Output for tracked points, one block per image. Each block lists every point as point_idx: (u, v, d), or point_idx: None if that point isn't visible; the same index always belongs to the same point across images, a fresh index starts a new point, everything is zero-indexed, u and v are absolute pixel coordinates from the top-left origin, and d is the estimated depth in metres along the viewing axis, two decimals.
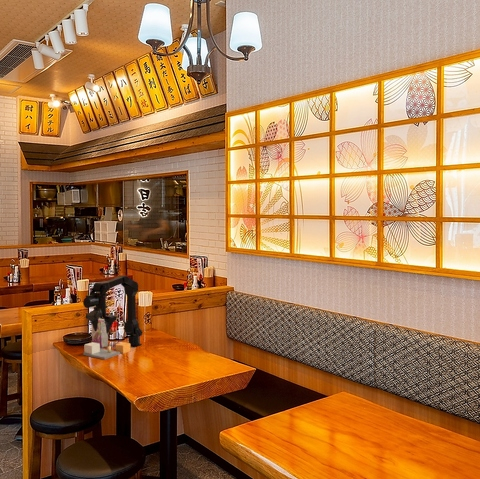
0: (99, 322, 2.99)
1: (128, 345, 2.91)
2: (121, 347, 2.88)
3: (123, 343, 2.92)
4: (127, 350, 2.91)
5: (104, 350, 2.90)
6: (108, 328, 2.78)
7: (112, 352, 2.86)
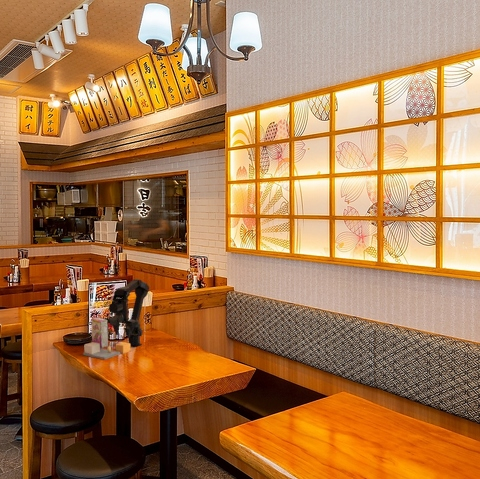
0: (99, 322, 2.99)
1: (128, 345, 2.91)
2: (121, 347, 2.88)
3: (123, 343, 2.92)
4: (127, 350, 2.91)
5: (104, 350, 2.90)
6: (129, 332, 2.88)
7: (112, 352, 2.86)
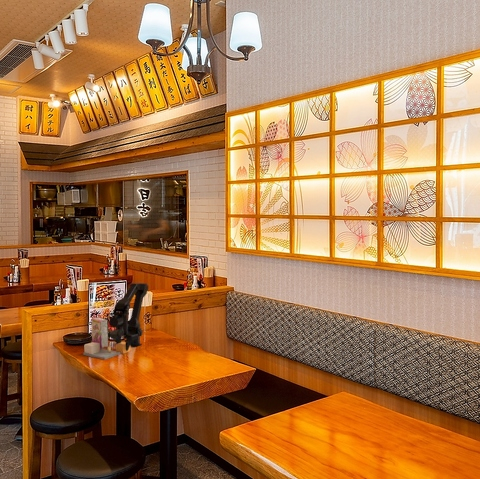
0: (99, 322, 2.99)
1: None
2: (121, 347, 2.88)
3: (123, 343, 2.92)
4: None
5: (104, 350, 2.90)
6: (128, 346, 2.89)
7: (112, 352, 2.86)
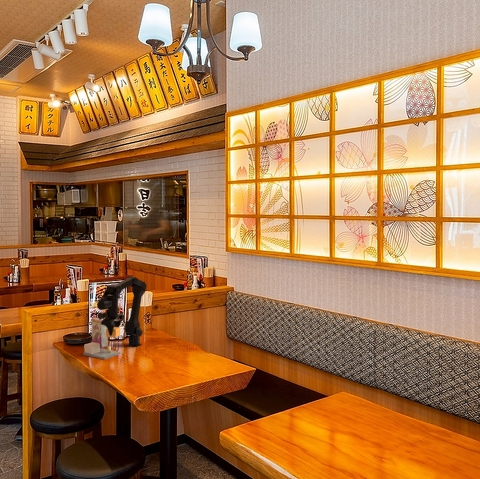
0: (99, 322, 2.99)
1: (113, 330, 2.83)
2: None
3: (114, 328, 2.86)
4: None
5: (104, 350, 2.90)
6: (109, 331, 2.82)
7: (112, 352, 2.86)
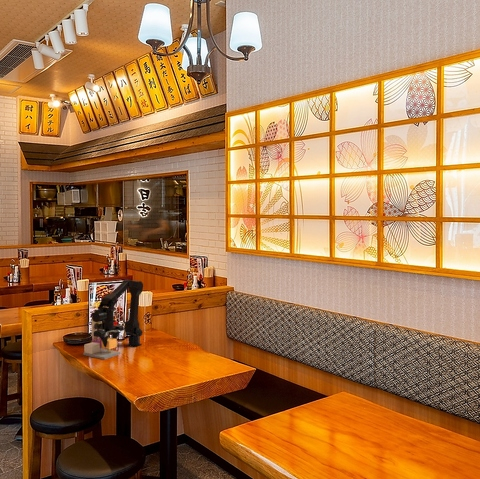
0: (99, 322, 2.99)
1: (107, 342, 2.82)
2: None
3: (110, 339, 2.85)
4: (106, 347, 2.83)
5: (104, 350, 2.90)
6: (103, 342, 2.82)
7: (112, 352, 2.86)
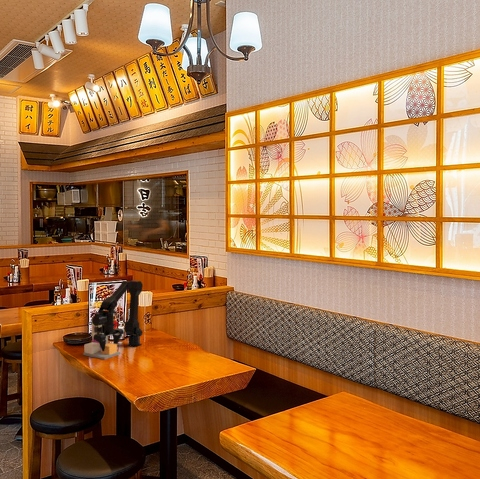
0: None
1: (107, 347, 2.82)
2: None
3: (110, 344, 2.85)
4: (106, 352, 2.83)
5: None
6: (101, 346, 2.81)
7: None
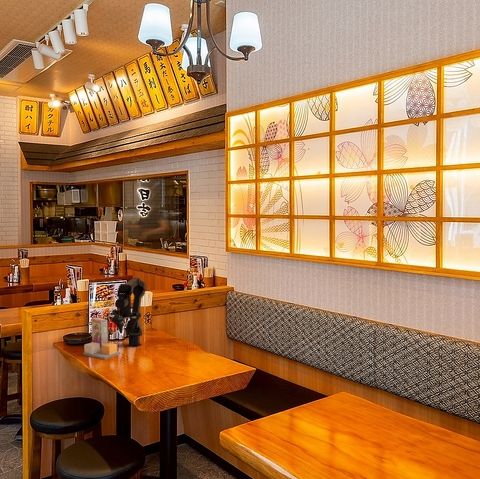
0: (99, 322, 2.99)
1: (107, 347, 2.82)
2: None
3: (110, 344, 2.85)
4: (106, 352, 2.83)
5: None
6: (119, 329, 2.86)
7: None
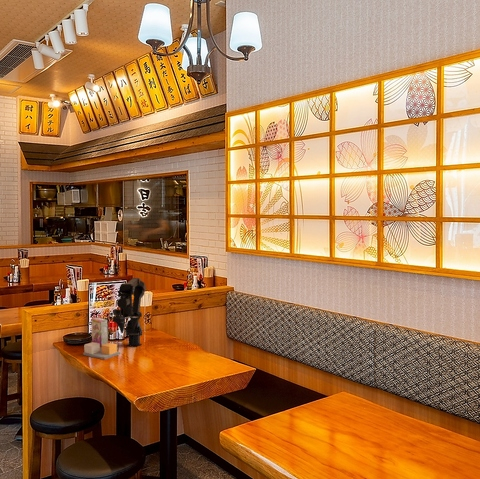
0: (99, 322, 2.99)
1: (107, 347, 2.82)
2: None
3: (110, 344, 2.85)
4: (106, 352, 2.83)
5: None
6: (120, 328, 2.86)
7: None
